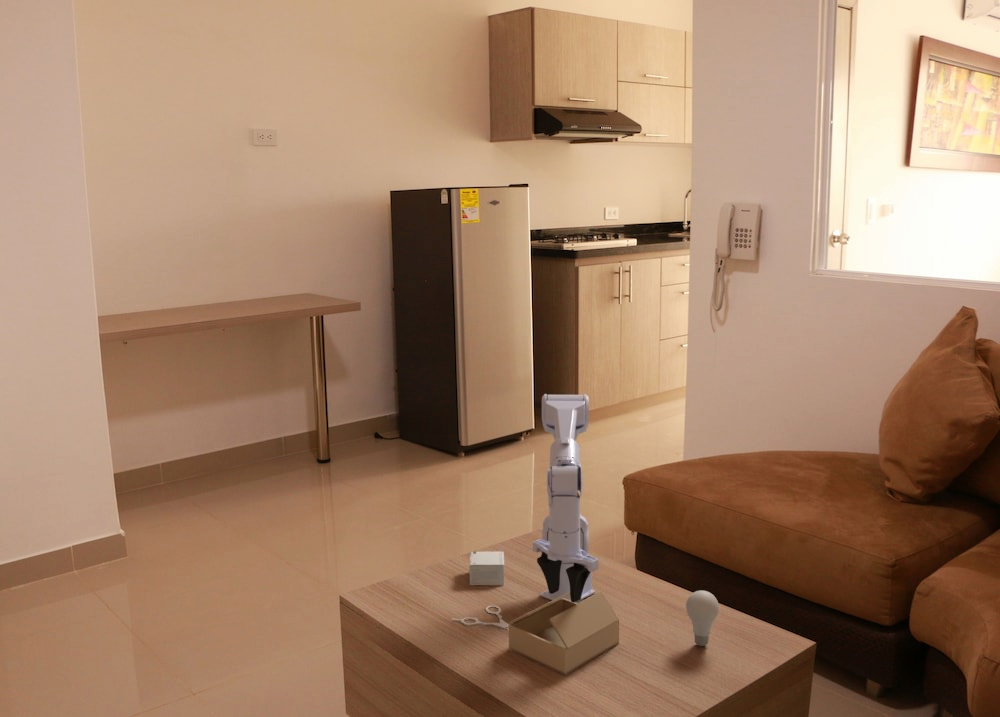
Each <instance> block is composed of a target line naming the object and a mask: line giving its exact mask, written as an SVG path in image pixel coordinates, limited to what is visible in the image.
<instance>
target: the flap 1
mask: <svg viewBox="0 0 1000 717" xmlns="http://www.w3.org/2000/svg"><path fill="white" fill-rule="evenodd" d="M568 595H570V592H569V593H567V594H565V595H562V596H560V597H558V598H556V599H554V600H551V601H549V602H547V603H545V604H542V605H540V606H539V607H537V608H535V609H534V608H533V610H530V611H528V612H526V613H525V614H522V615H520V616H519V617H516V618H515V619H513V620H510V621H509V625H510V624H512V623H514V622H516V621H518V620H520V619H522V618H525V617H527V616H529V615H531V614H533V613H535V612H537V611H539V610H541V609H543V608H545V607H547V606H549V605H551V604H553V603H555V602H557V601H559V600H561V599H563V598H565V597H567V596H568Z"/></svg>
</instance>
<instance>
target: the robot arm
mask: <svg viewBox="0 0 1000 717" xmlns="http://www.w3.org/2000/svg"><path fill="white" fill-rule="evenodd" d="M589 399H590V398H589V396H588V395H587V393H584V394H547V393H544V394H543V395H542V397H541V421H542V428H543V429H544V432H546V433H549V434H551V435H552V438H553V439H554V441H553V442H552V443H551V444H550V447H549V468H547V471H546V492H547V498H548V506H549V514H548V515H547V516H546V517H545V518H544V520H543V522H542V530H541V531H542V532H541V533H542V536H541V537H542V538H540V539H539V538H538V539H536V540H533V541H532V551H533V552H534V553H541V554H540V556H539V557H537V558H536V563H537V564H538V566H539V567H540V569H541V571H542V574H543V576H544V578H545V582H546V586H547V590H544V591H542V592H540V594H539V596H540V597H542V598H545V599H548V600H551V601H552V600H554V599H556V598H558V597H560V596H562V595H565V594H567V593H569V592H570V595H568V596H567V597H565V598H566V599H568V600H571V602H573V603H575V602H576V603H579V602H580V601H581V600H584V599H585V598H588V597H589V596H591V595H593V594H595V593H596V591H595V589H593V572H595V571H597V570H599V567H600V566H599V562H600V561H599V559H598V558H596V557H594V556H592V555H591V554H589V539H590V538H589V527H588V526H589V523H588V521H587V519H586V517H584V516H583V515H582V514H581V497H582V495H583V490H584V488H583V486H584V485H583V484H584V482H583V480H584V479H583V475H584V474H583V468H582V462H581V449H580V445H579V444H578V442H577V439H578V436H579V435H580V434H583V433H586V432H587V429H588V427H589V421H590V420H589V419H590V401H589ZM578 491H579V492H578ZM579 493H580V494H579Z"/></svg>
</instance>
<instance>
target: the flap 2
mask: <svg viewBox="0 0 1000 717" xmlns="http://www.w3.org/2000/svg"><path fill="white" fill-rule="evenodd" d="M549 620H550V622H551V624H552V625H553V627H554V629H555V630H556V632H557V634H558V635H559V637H560V638H561V640H562V642H563V643H564V645H565V647H566V648H567V649H568V648H570V647H572V646H573V645H575V644H577V643H579V642H580V641H582V640H584V639H586V638H587V637H589V636H591V635H593V634H594V633H596V632H598V631H600V630H601V629H603V628H605V627H607V626H608V625H610V624H612V623H614V622H615V621H617V620H619V621H620V619H619V617H618V616H617V614H616V612H615V611H614V609H613V608H612V606H611V605H610V603H609V602H608V599H607V598H606V597H605V595H604V594H603V592H602V591H601V592H599V593H597V594H594V595H593V596H590V597H589V598H587V599H585V600H583V601H581V602H580V603H579V602H578V604H577V605H575V606H573V607H571V608H570V609H568V610H566V611H564V612H562V613H560V614H558V615H556V616H554V617H552V618H550V619H549Z"/></svg>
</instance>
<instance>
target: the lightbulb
mask: <svg viewBox="0 0 1000 717" xmlns="http://www.w3.org/2000/svg"><path fill="white" fill-rule="evenodd" d="M719 604H720V603H719V602H718V600H717V598H716V597H715V595H714V594H712V593H711V592H709V591H707V590H701V589H700V590H696V591H694V592H692V593H691V594H690V595H689V596H688V598H687V600H686V603H685V610H686V613H687V616H688V617H689V619H690V620H691V623H692V631H693V634H694V636H693V637H694V643H695V644H696V645H697V646H699V647H702V648H703V647H704V646H707V645H708V644H709V637H710V634H711V628H712V625H713V623H714V622H715V620H716V619H717V616H718V615H719V611H720V605H719Z"/></svg>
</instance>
